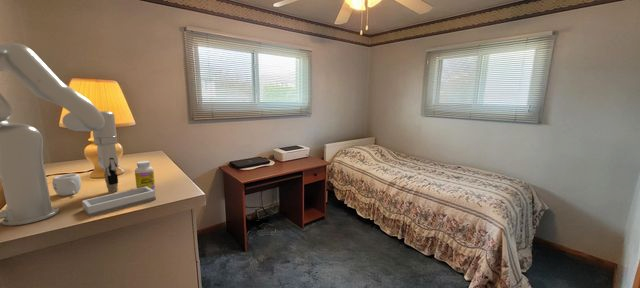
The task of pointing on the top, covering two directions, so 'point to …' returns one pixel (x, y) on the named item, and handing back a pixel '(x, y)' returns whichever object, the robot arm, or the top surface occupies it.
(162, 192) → the top surface
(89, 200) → the track
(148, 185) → the supplement bottle
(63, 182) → the mug
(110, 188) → the handle
